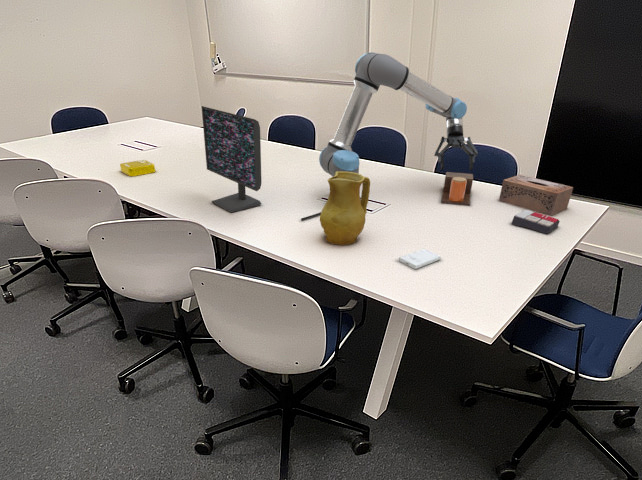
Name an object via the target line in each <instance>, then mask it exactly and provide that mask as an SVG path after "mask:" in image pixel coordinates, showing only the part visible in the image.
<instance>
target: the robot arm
mask: <svg viewBox="0 0 642 480" xmlns="http://www.w3.org/2000/svg"><path fill="white" fill-rule="evenodd" d="M355 63H356V64H355V67H354V73H355V76H354V78H353V84H354V88H353V90H352V93H351V94H350V97H349V100H348V103H347V105H346V107H345V110H344V112H343V114H342V118H341V119H340V122H339V125H338V127H337V129H336V132H335V134H334V137H333V138H332V139H330V140H329V141H328V143H327V145H326V147H324V148H323V149H322V150H321V151H320V153H319V157H318V162H319V165H320V167H321V168H322V170H323V171H324V172H325V173H326V174H328V175H330V176H331V177H334V176H335V172H336V171H338V172H342V171H343V172H353V173H358V174H360V156H359V154H358V153H356V152H355V151H353V149H352V145H353V142H354V140H355V137H356V135H357V132H358V130H359V127H360V126H361V123H362V121H363V119H364V116H365V113H366V111H367V109H368V107H369V104H370V101H371V99H372V97H373V95H374V94H376V93H378V91H379V89H380V87H381V86H383V87H387V88H390V89H393V90H394V91H401V92H403V93H406V94H407V95H409V96H410V97H413V98H415V99H416V100H418V101H420V102H422V103H423V104H424V105H425V106H424V107H425V109H426V110H427V111H429V112H432V113H433V114H436V115H439V116H441V117H443V118H445V123H446V137H445V136H444V135H443V136H441V138H440V141H439V145H438V146H437V147H436V150H435V152H434V154H433V155H434V157H437V160H438V161H437V162H438V163H439V164H440V171H443V170H444V168H445V160H444V159H445V158H444V154H445V153H446V152H447V150H448V149H450V148H456V149H457V148H460V149H461V150H463V152H465V153H466V155H468V163H469V171H472V170H473V169H474V163H475V162H476V159H475V158H476V157H477V156H478V155H479V152H478V151H479V150H477V148H476V146H475V144H473V142H472V140H471V139H472V138H471V136H468V137H465V136H464V125H463V118H464V116H465V115H466V113H467V110H468V105H467V104H466V102H464V101H462V100H461V99H460V98H459V97H453V96H451V95H449V94H448V93H446V92H445V91H443V90H442V89H439V88H438V87H436V86H434V85H433V84H431V83H430V82H427V81H426V80H424V79H422V78H420V77H419V76H418V75H416V74H414V73H413V72H411V71H410V68H409V67H408V66H406V65H405V64H403V63H401V62H400V61H399V60H397V59H395V57H392V56H390V55H389V54H386V53H378V52H372V51H371V52H367V53H364V54H362V55H361V56H360V57H359V58H358V59H357V61H356V62H355ZM445 142H446V143H447V144H446V145H445V146H444V147H443V148H442V146H443V144H444V143H445ZM441 148H442V150H441ZM440 150H441V151H440ZM360 200H361V198H360ZM321 212H322V211H320V212H317V213H315V214H311V215H307V216H304V217H302V218H301V219H300V220H301V221H304V220H308V219H312V218H314V217H318V216H320V215H321Z"/></svg>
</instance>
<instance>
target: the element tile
mask: <svg viewBox="0 0 642 480" xmlns="http://www.w3.org/2000/svg"><path fill="white" fill-rule="evenodd" d="M119 167H120V170H121V173H123V174H125V175H127V176H129V177H137V176H143V175H148V174H153V173H155V172H156V167H155V163H152V162H150V161H148V160H146V159H139V160H134V161H129V162H122V163H120V164H119Z"/></svg>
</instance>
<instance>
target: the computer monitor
mask: <svg viewBox="0 0 642 480" xmlns="http://www.w3.org/2000/svg"><path fill="white" fill-rule="evenodd" d="M201 117H202V129H203V140H204V141H203V142H204V153H205V163H206V164H205V165H206V170H207V171H209V172H211V173H214V174H216V175H218V176H221V177H223V178H225V179H228V180H230V181H232V182H234V183H236V184H237V192H236V193H233V194H229V195H227V196H223V197H220V198H216V199H214V200H211V203H212V204H214V205H216V206H218V207H220V208H222V209H223V210H226V211H227V212H229V213H236V212H240V211H245V210H247V209H251V208H255V207H258V206H261V205H262V202H261V201H260V200H259V199H256V198H255V197H252V196H251V195H248V194H246V188H248V189H249V190H252V191H255V192H258V191H259V190H260V189H261V186H262V150H261V148H262V147H261V126H260V122H259V120H256V119H255V118H252V117H248V116H243V115H239V114H235V113H232V112H229V111H224V110H219V109H215V108H212V107H207V106H203V105H201Z"/></svg>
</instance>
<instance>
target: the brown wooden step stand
mask: <svg viewBox="0 0 642 480" xmlns="http://www.w3.org/2000/svg"><path fill="white" fill-rule="evenodd" d="M454 177H463V178H466V181H467V183H466V189H465V194H464V200H463V201H461V202H455V201H451V200H449V194H450V187H451V181H452V179H453V178H454ZM443 182H444V183H443V188H442V189H443V191H442V196H441V202H440V203H441V204H447V205H455V206H456V205H457V206H467V207H470V206H471V193H472V187H473V182H474V174H473V173H465V172H451V171H446V172H445V177H444V181H443Z"/></svg>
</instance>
